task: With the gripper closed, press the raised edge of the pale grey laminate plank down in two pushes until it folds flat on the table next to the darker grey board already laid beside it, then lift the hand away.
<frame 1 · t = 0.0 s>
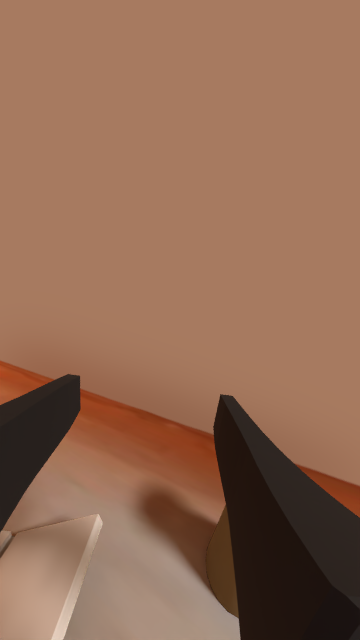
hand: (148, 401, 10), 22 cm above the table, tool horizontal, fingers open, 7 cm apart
cork: (234, 570, 20), on the table
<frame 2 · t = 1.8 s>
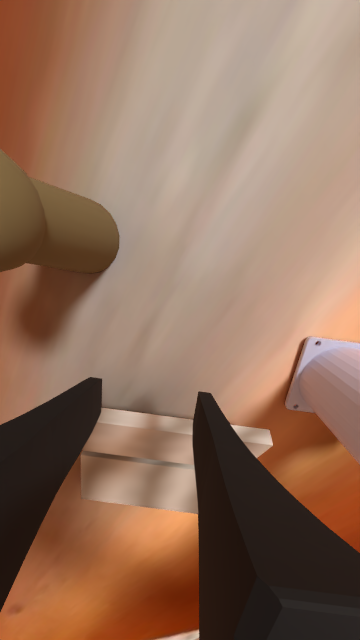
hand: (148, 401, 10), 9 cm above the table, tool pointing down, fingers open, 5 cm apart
laid board: (158, 477, 24), on the table
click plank: (163, 441, 19), point 2 cm above the table, hinge at 25.0°
cork: (85, 237, 17), on the table
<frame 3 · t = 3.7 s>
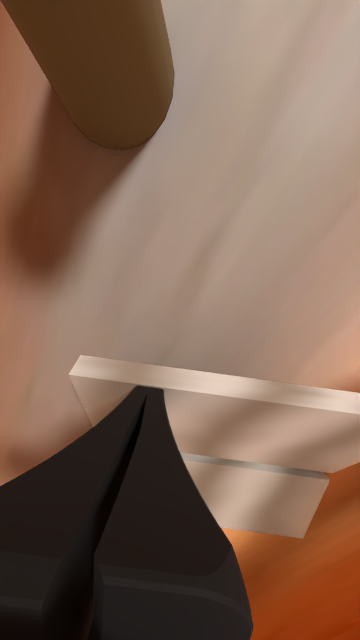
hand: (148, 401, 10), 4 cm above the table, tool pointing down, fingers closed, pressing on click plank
laid board: (205, 480, 17), on the table
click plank: (230, 425, 13), point 2 cm above the table, hinge at 24.0°, touching gripper
cork: (116, 82, 10), on the table
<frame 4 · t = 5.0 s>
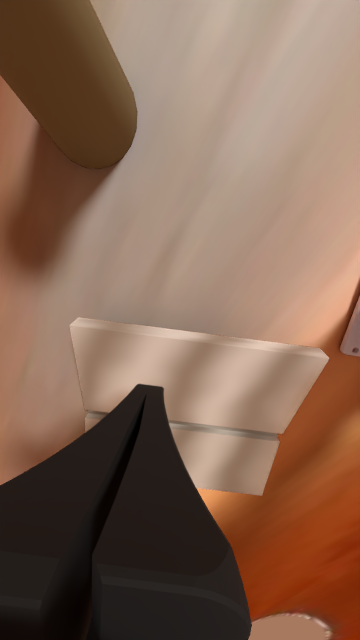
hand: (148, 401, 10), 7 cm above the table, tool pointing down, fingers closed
laid board: (178, 447, 20), on the table
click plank: (191, 381, 16), point 2 cm above the table, hinge at 12.8°
cork: (92, 116, 13), on the table
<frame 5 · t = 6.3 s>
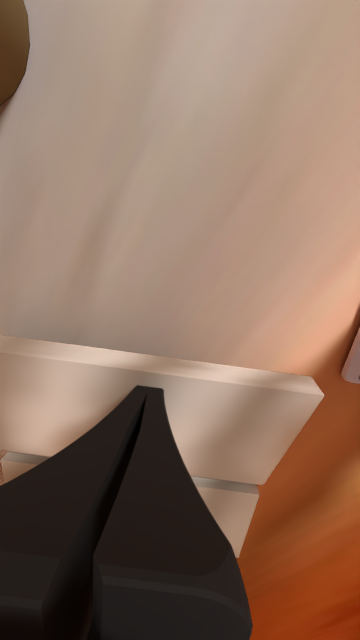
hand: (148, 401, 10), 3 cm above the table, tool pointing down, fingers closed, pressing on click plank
laid board: (131, 493, 16), on the table
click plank: (133, 418, 12), point 2 cm above the table, hinge at 12.6°, touching gripper
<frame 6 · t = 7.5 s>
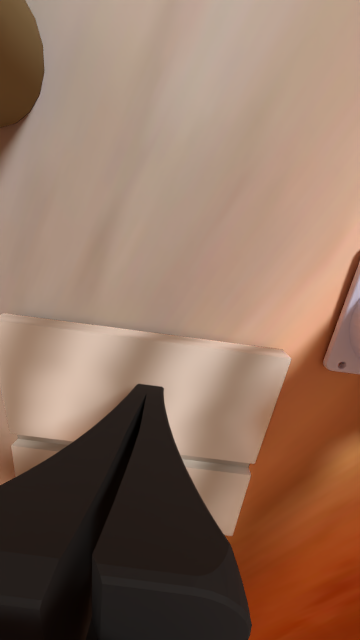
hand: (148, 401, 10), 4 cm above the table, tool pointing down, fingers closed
laid board: (133, 478, 17), on the table
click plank: (138, 393, 13), point 1 cm above the table, hinge at 2.6°
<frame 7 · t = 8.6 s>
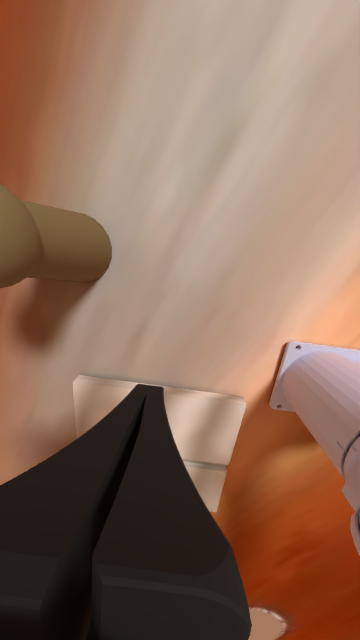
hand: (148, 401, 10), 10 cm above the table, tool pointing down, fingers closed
laid board: (151, 473, 25), on the table
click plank: (156, 421, 22), point 1 cm above the table, hinge at 2.6°
cork: (80, 249, 18), on the table
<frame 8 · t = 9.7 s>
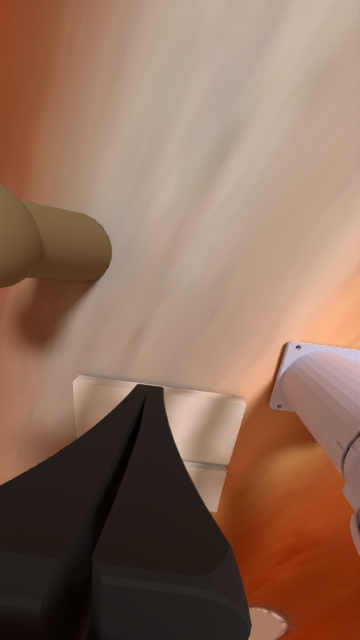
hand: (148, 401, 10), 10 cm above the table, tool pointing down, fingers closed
laid board: (151, 473, 25), on the table
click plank: (156, 421, 22), point 1 cm above the table, hinge at 2.6°
cork: (80, 249, 18), on the table
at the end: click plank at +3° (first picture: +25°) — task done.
